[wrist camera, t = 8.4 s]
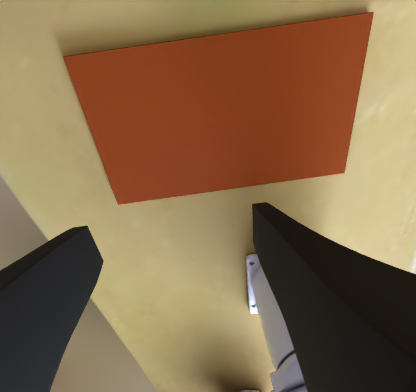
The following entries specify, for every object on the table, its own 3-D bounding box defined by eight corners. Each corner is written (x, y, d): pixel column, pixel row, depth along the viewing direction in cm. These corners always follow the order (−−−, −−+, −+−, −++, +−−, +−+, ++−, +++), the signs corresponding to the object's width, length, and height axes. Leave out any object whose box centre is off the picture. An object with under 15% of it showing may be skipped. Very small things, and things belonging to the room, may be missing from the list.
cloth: (341, 171, 19) (344, 173, 18) (119, 202, 19) (118, 204, 19) (369, 13, 14) (374, 11, 13) (66, 57, 14) (62, 56, 13)
